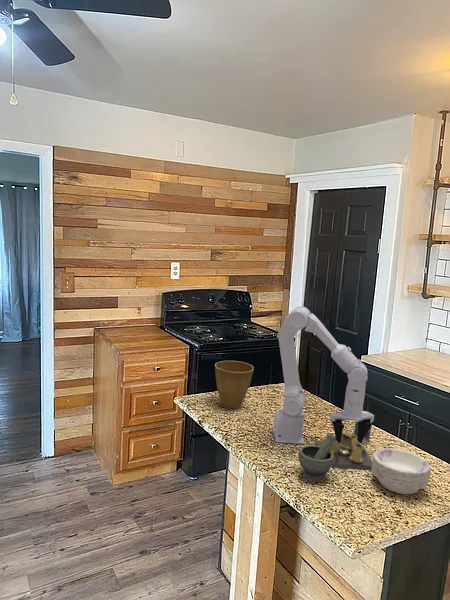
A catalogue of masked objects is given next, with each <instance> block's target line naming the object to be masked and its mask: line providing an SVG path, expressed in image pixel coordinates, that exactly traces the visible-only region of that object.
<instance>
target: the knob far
mask: <svg viewBox="0 0 450 600" xmlns="http://www.w3.org/2000/svg"><path fill="white" fill-rule="evenodd" d="M340 443H341V444H342V447H343V448H344V449H347V450H353V447H354V445H355V444H358V442H357V437H356V436H354V434H352V433H350V432H348V431H343V432H342V436H341V442H340Z"/></svg>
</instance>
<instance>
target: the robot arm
mask: <svg viewBox="0 0 450 600" xmlns="http://www.w3.org/2000/svg"><path fill="white" fill-rule="evenodd" d="M304 328H305V329H304ZM303 329H304V331H305V332H308V333H312V334H314V335H315V336H317V338H318V339H319V340H320V341H322V343H323V344H324V345H325V346H326V348H328V349H329V351H330V353H331V354H330V357H331V358H332V360H333V361H334V362H335V363H336V364H337V365H338V366H339V368H340V369H341V370H342V371H343V372H344V373H345V374H346V375H347V379H348V381H347V385H346V389H345V397H344V405H343V410H342V411H337V412H330V413H329V420H330V421H331V424H332V426H333V432H334V436H335V437H336V439H337V441H338V443H340V442H341V436H342V433H343V432H344V431H343V430H344V428H345V424H344V423H343V421H354V422H355V421H358V433H357V440H358V441H359V442H358V443H359V444H363V443H362V441H363V439H364V437H365V435H366V433H367V431H368V430H369V429H370V428H371V429H372V428H373V422H374V420H375V415H374V414H373V413H371V412H369V413H363V412H362V411H364V410H363V409H364V401H365V394H366V385H367V383H366V382H367V381H368V379H369V377H368V369H367V366H366V365H365V363H363V362H362V360H361V359H360V358H359V359H358V358H357V357H356V356H355V355H354V354H353V352H352V349H351V347H350V346H347V345H345V344H341V343H338V341H337V340H336V338H334V336H333V335H332V334H331V332H329V330H328V329H327V328H326V326H325V325H324V324H323V323H322V321H321V320H320V319H319V318H318V317H317V316H316V315H315V314H314V313H311V310H309V309H308V308H307V307H306V306H303V305H302V306H301V305H300V306H297V307H296V308H295V309H293V310H292V311H290V312H289V313H288V314H287V315H286V316H285V317H284V320H283V322H282V324H281V327H280V328H279V330H278V332H277V335H278V336H277V337H278V344H279V351H280V352H279V353H280V358H281V365H282V374H283V382H284V394H283V395H284V400H283V404H282V410H281V411H276V412H275V415H274V422H273V429H272V433H273V437H274V440H275V442H276V443H283V444H284V443H285V444H295V445H296V444H297V445H300V444H301V445H305V444H306V443H305V440H304V439H303V429H304V423H305V421H304V420H305V411H304V410H303V409H304V406H305V405H306V402H307V397H306V395H305V393H304V391H303V387H302V384H301V382H300V375H299V367H298V362H297V361H298V360H297V351H296V345H295V337H294V336H295V335H296V334H297V333H299V332H300V331H301V330H303ZM370 421H372V423H371V422H370Z"/></svg>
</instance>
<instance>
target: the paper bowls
mask: <svg viewBox="0 0 450 600" xmlns="http://www.w3.org/2000/svg"><path fill="white" fill-rule="evenodd" d="M371 460H372V467H371V470H370V471H371V474H372V475H373V476H374V477H376V478H377V479H378V482H379V483H380V484H381V485H382V486H383V487H384V488H385V489H387V490H389V491H390V492H393V493H397V494H401V495H412V494H416V493H417V492H418V491H419V490H420V489H421V490H422V489H424V488H426V487H428V485H429V483H430V481H429V480H430V475H431V465H430V463H429V462H428V461H427V460H426V459H425V458H423V457H421V456H419V455H418V454H415V453H414V452H413V453H412V452H411V451H406V450H403V449H399V448H389V447H388V448H380V449H377V450H376V451H374V452H373V454H372V459H371Z"/></svg>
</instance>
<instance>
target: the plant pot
mask: <svg viewBox="0 0 450 600" xmlns="http://www.w3.org/2000/svg"><path fill="white" fill-rule="evenodd" d="M254 368H255V367H254V366H253V365H252V364H249V363H247V362H245V361H237V360H222V361H218V362H216V363H215V364H214V370H215V371H214V373H215V381H216V382H215V383H216V387H217V388H216V389H217V393H218V398H219V401H220V405H221V406H222V407H223V408H225V409H229V410H238V409H240V408H241V406H242V404H243V402H244V401H245V398H246V395H247V393H248V390H249V388H250V384H251V381H252V378H253V374H254Z"/></svg>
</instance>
